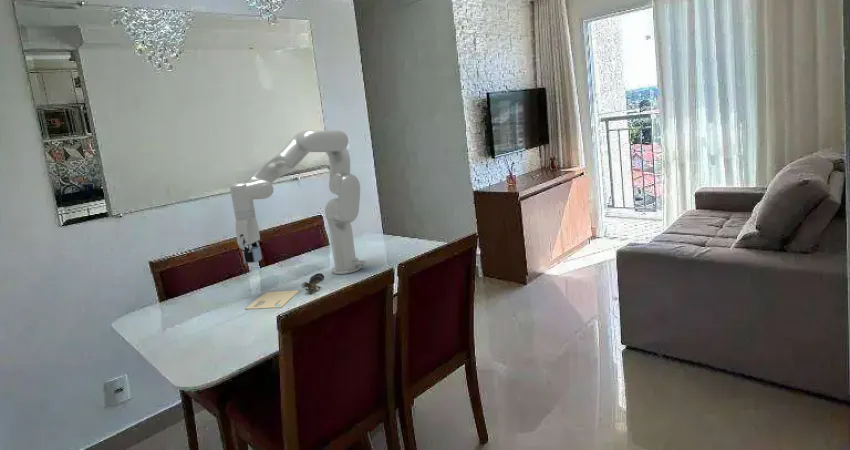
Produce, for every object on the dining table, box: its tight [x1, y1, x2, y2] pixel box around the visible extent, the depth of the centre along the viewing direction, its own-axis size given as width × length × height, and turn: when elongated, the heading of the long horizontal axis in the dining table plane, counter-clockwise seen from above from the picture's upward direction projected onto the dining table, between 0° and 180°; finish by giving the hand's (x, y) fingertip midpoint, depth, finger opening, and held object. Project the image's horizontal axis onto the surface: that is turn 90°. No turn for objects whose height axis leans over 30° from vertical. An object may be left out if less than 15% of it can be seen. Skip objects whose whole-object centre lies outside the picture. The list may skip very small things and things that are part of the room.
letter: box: [245, 289, 300, 310], centre depth 208 cm, size 14×18×1 cm
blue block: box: [241, 246, 263, 264], centre depth 214 cm, size 5×5×5 cm
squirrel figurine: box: [300, 272, 325, 295], centre depth 213 cm, size 8×7×9 cm
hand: (253, 259), depth 214 cm, fingers closed on blue block, 5 cm apart
